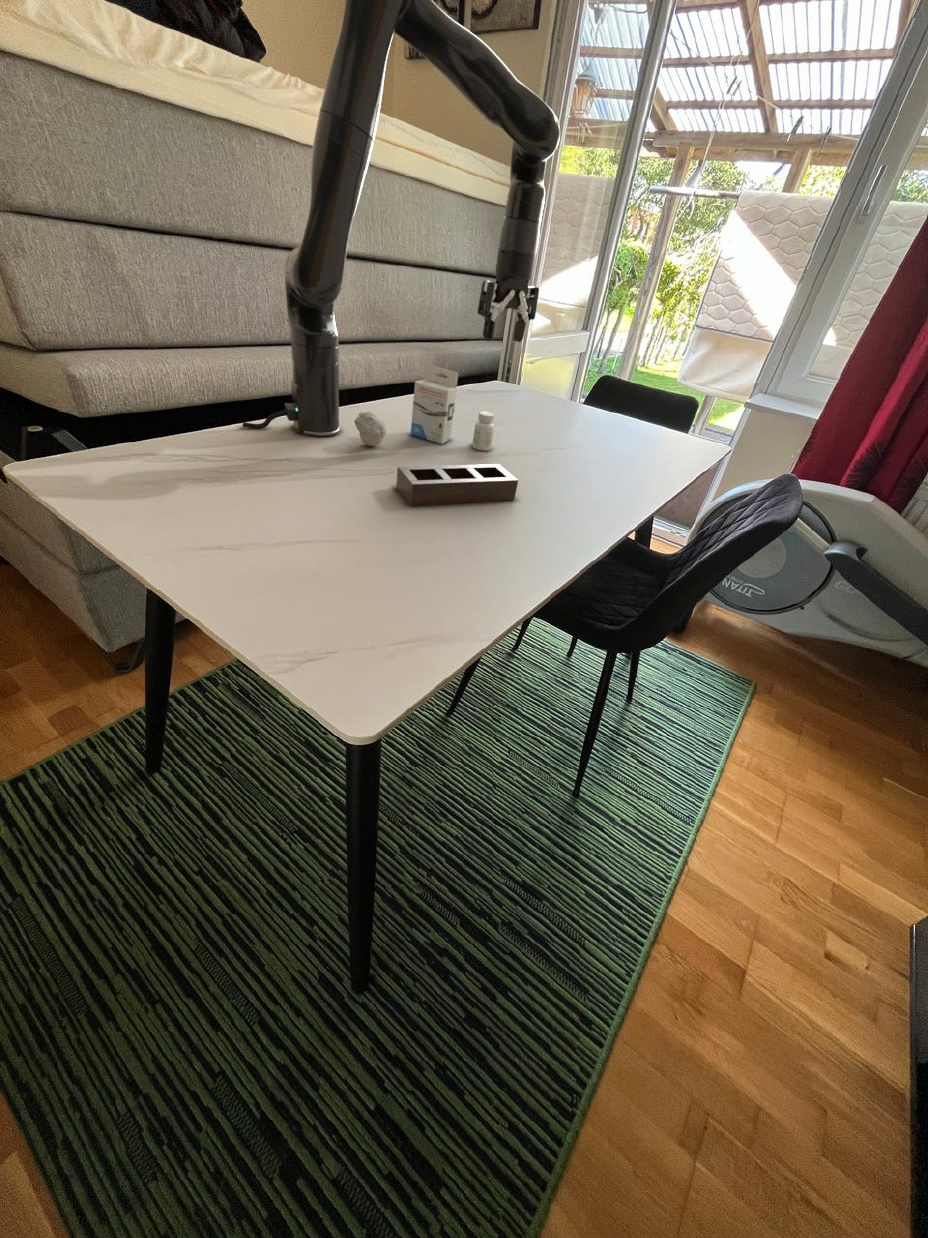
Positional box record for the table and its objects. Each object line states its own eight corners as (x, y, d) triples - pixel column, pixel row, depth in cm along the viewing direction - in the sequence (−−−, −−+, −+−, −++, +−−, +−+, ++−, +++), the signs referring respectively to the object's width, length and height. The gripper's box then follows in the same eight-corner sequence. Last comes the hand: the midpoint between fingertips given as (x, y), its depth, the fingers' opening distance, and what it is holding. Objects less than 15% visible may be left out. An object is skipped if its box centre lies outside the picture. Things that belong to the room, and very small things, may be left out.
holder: (514, 500, 98) (518, 480, 95) (410, 506, 89) (412, 484, 87) (495, 483, 103) (498, 463, 101) (396, 487, 95) (397, 466, 92)
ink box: (409, 435, 120) (414, 366, 111) (419, 430, 124) (425, 363, 115) (442, 444, 118) (449, 375, 109) (451, 439, 121) (459, 372, 113)
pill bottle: (491, 446, 122) (496, 412, 117) (490, 452, 118) (495, 417, 114) (472, 443, 122) (477, 409, 117) (471, 449, 118) (476, 414, 114)
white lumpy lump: (348, 442, 110) (348, 408, 106) (375, 439, 114) (376, 406, 110) (363, 452, 107) (364, 417, 103) (391, 448, 111) (393, 415, 107)
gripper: (530, 251, 108) (515, 337, 117) (478, 242, 100) (466, 335, 109) (555, 255, 104) (538, 345, 113) (503, 246, 96) (488, 343, 105)
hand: (502, 340), depth 111 cm, fingers open, 8 cm apart
